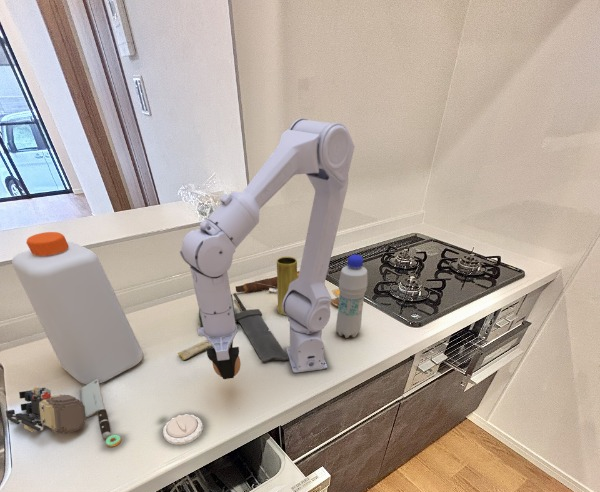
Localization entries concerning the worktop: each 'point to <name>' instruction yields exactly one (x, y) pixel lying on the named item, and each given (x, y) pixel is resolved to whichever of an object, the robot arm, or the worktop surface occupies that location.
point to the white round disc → (182, 429)
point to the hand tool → (259, 285)
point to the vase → (285, 278)
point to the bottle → (351, 297)
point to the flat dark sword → (259, 334)
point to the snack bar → (194, 350)
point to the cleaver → (95, 406)
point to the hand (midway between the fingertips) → (227, 368)
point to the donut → (112, 444)
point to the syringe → (271, 289)
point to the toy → (49, 411)
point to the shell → (336, 293)
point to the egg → (237, 366)
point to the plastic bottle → (77, 308)
